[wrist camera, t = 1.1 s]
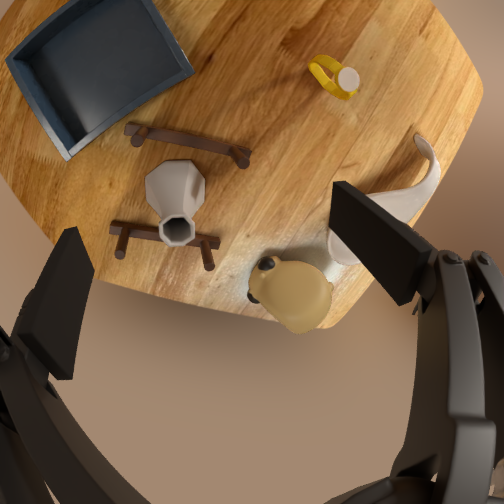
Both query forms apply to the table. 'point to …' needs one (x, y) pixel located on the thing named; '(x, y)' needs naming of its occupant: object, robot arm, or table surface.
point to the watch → (344, 77)
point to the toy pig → (291, 292)
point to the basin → (95, 67)
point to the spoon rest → (395, 202)
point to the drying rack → (176, 137)
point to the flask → (175, 199)
